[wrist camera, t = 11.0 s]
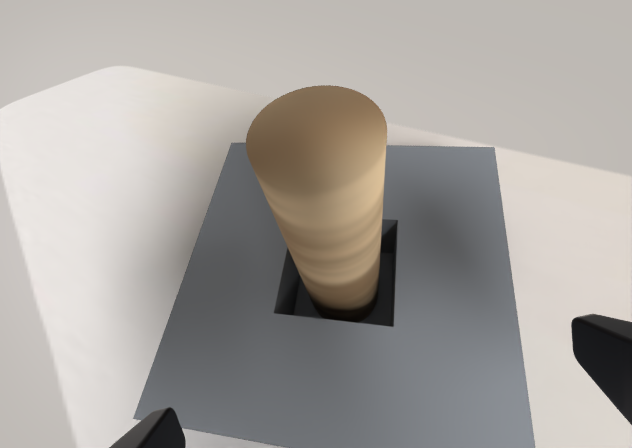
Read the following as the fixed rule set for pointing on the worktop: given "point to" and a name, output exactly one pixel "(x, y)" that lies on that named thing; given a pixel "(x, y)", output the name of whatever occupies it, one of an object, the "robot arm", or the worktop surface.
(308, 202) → the pin
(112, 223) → the worktop surface
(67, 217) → the worktop surface
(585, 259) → the worktop surface
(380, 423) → the socket block
